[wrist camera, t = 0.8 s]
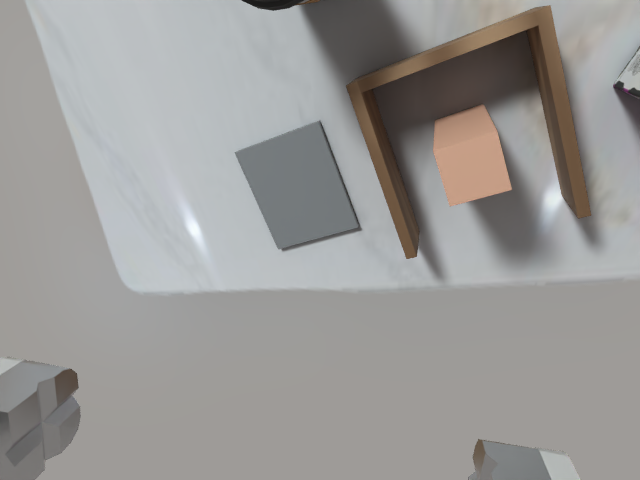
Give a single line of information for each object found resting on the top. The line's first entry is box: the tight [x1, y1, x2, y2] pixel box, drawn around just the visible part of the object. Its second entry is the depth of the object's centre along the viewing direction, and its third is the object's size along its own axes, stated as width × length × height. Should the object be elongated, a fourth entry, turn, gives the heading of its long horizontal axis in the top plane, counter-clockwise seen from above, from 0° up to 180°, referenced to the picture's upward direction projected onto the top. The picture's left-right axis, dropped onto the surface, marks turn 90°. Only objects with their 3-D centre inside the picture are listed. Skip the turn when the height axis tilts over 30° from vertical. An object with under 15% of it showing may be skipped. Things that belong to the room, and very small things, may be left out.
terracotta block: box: [433, 104, 512, 206], centre depth 39 cm, size 4×4×12 cm
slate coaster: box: [235, 121, 359, 249], centre depth 50 cm, size 10×12×1 cm
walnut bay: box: [346, 5, 591, 259], centre depth 41 cm, size 16×17×6 cm
